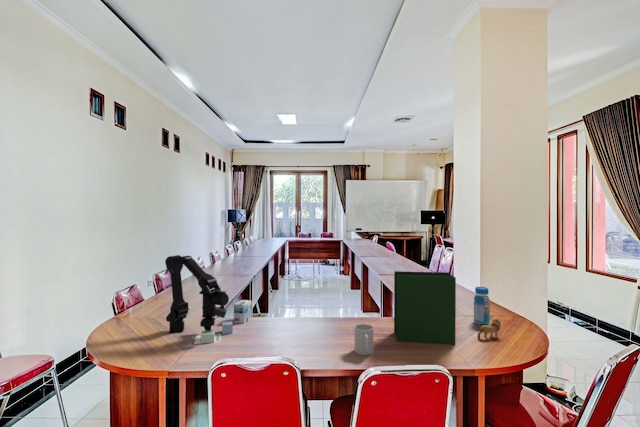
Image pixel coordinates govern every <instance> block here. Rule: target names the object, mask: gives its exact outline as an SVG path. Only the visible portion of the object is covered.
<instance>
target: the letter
mask: <svg viewBox="0 0 640 427" xmlns="http://www.w3.org/2000/svg"><path fill="white" fill-rule="evenodd" d="M221 340H222V333H215V339H214V342H213V343H219V342H221ZM197 344H199V345H200V344H201V334H200V335H196V336H195V339H194V342H193V345H197Z"/></svg>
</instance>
